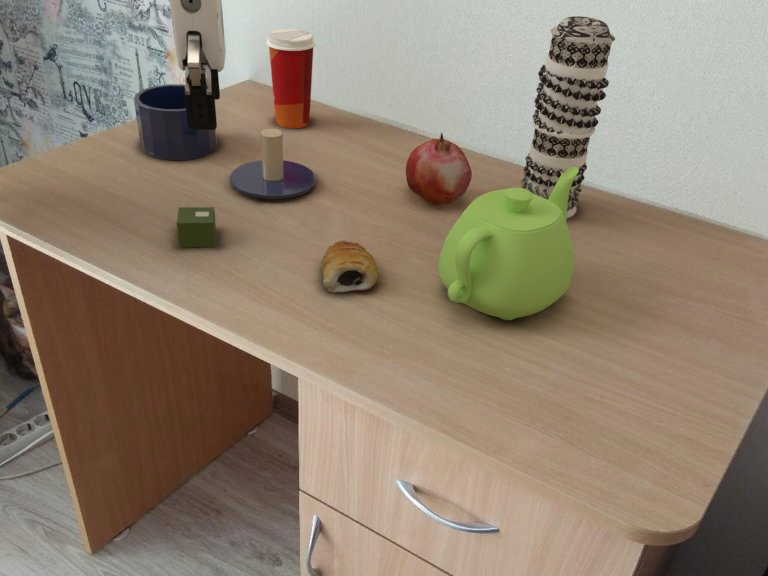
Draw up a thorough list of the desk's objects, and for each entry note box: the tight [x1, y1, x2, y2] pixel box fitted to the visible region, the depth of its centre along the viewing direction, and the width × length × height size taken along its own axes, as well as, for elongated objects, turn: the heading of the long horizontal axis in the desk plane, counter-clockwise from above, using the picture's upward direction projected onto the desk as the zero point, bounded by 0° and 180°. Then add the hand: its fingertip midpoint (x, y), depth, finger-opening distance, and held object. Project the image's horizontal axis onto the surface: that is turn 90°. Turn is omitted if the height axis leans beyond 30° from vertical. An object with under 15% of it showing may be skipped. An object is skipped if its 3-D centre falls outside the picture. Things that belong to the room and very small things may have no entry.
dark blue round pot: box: [133, 83, 218, 162], centre depth 119 cm, size 11×11×8 cm
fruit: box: [405, 132, 473, 206], centre depth 109 cm, size 9×10×10 cm
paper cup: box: [266, 28, 316, 129], centre depth 127 cm, size 8×8×14 cm
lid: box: [229, 128, 317, 200], centre depth 110 cm, size 12×12×8 cm
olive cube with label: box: [176, 206, 217, 248], centre depth 98 cm, size 4×4×4 cm
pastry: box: [320, 240, 380, 294], centre depth 93 cm, size 9×7×4 cm
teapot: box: [437, 167, 578, 321], centre depth 90 cm, size 22×15×13 cm
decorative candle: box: [520, 15, 616, 219], centre depth 105 cm, size 9×9×25 cm
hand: (204, 113), depth 92 cm, fingers open, 9 cm apart
